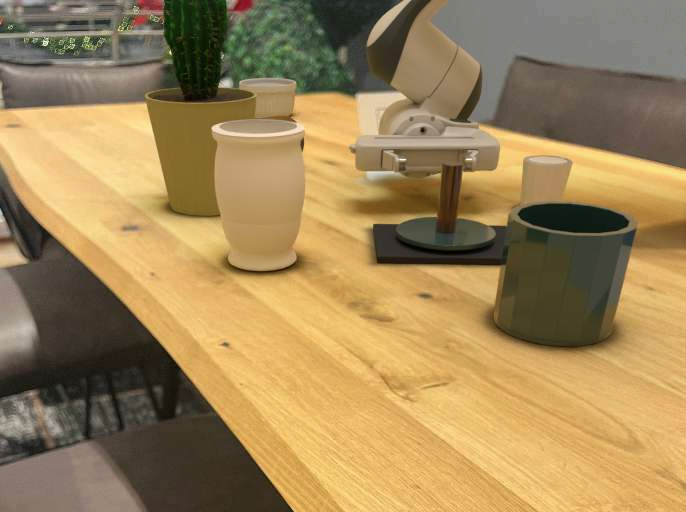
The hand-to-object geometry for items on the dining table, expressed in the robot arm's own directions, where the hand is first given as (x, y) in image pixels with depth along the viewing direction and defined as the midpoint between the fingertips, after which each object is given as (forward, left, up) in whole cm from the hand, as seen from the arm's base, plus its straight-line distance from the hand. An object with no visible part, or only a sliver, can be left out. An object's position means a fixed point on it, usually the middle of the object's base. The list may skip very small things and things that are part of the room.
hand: (435, 165), depth 102 cm
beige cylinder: (-17, -8, -8) cm, 20 cm away
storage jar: (-9, +35, -8) cm, 36 cm away
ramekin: (+29, -88, -8) cm, 93 cm away
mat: (-1, +10, -8) cm, 12 cm away
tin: (+26, -32, -8) cm, 42 cm away
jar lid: (-1, +10, -6) cm, 11 cm away
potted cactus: (+32, -8, -8) cm, 34 cm away
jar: (+22, +17, -8) cm, 29 cm away
